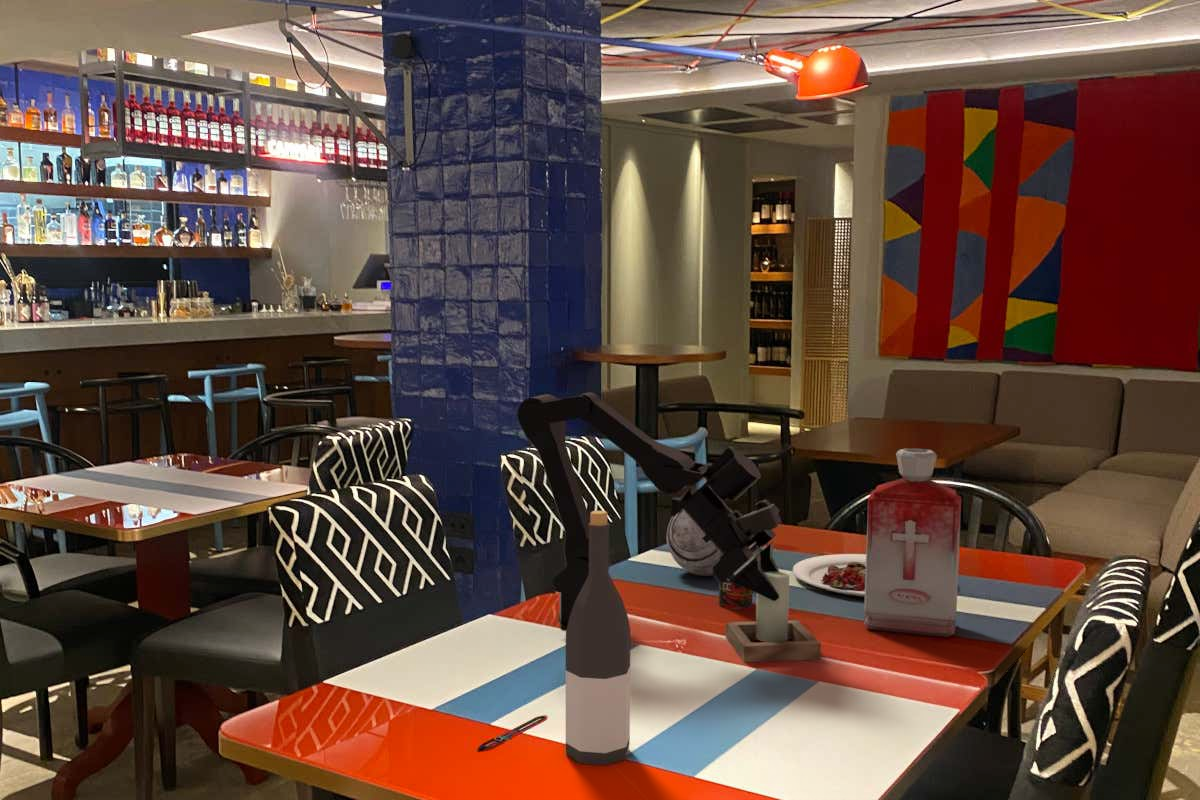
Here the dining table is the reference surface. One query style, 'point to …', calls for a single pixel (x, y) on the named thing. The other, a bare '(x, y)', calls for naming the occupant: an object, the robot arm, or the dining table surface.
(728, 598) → the deodorant
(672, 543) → the decorative orb
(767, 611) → the pale green cylinder
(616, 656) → the wine bottle
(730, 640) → the collar
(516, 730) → the pen
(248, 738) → the dining table surface
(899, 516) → the bottle
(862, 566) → the plated food
